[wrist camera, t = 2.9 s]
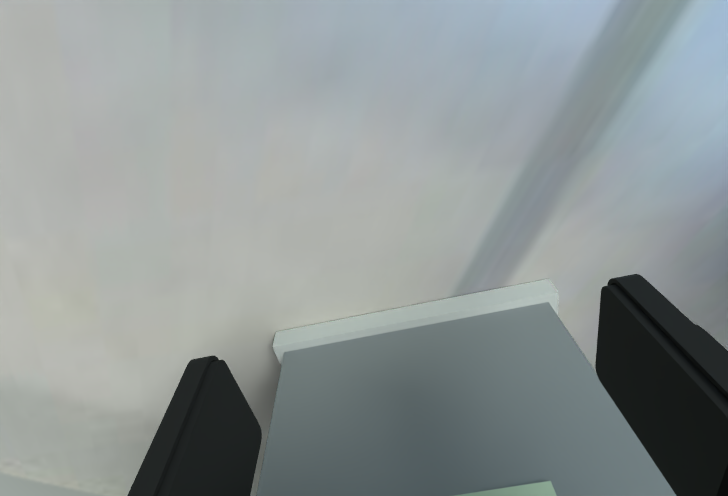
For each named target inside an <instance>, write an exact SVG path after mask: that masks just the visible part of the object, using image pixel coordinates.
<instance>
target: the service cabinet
mask: <svg viewBox="0 0 728 496" xmlns="http://www.w3.org/2000/svg"><path fill="white" fill-rule="evenodd" d="M273 349H274V352H275V354H276V356H277V358H278V361H279V363H280V365H281V372H280V377H279V382H278V387H277V393H276V398H275V403H274V408H273V413H272V418H271V423H270V429H269V434H268V439H267V444H266V449H265V454H264V460H263V465H262V470H261V475H260V480H259V485H258V490H257V496H676V494H675V493H674V491H673V490H672V488H671V487H670V485H669V484H668V482H667V481H666V479H665V478H664V476H663V475H662V473H661V472H660V470H659V469H658V467H657V466H656V464H655V463H654V461H653V460H652V458H651V457H650V455H649V454H648V452H647V451H646V449H645V448H644V446H643V445H642V443H641V442H640V440H639V439H638V437H637V436H636V434H635V433H634V431H633V430H632V428H631V427H630V425H629V424H628V422H627V421H626V419H625V418H624V416H623V415H622V413H621V412H620V410H619V409H618V407H617V406H616V405H615V403H614V402H613V400H612V399H611V397H610V396H609V394H608V393H607V391H606V390H605V388H604V387H603V385H602V384H601V382H600V380H599V378H598V376H597V373H596V372H595V370H594V369H593V367H592V366H591V364H590V363H589V361H588V360H587V359H586V357H585V356H584V354H583V353H582V351H581V350H580V348H579V347H578V345H577V344H576V342H575V341H574V339H573V338H572V336H571V335H570V333H569V332H568V330H567V329H566V327H565V326H564V324H563V323H562V321H561V320H560V318H559V317H558V291H557V289H556V288H555V287H554V285H553V284H552V283H551V281H550V280H549V279H544V280H539V281H534V282H529V283H524V284H519V285H514V286H509V287H503V288H498V289H493V290H488V291H483V292H478V293H473V294H468V295H462V296H457V297H452V298H447V299H442V300H437V301H432V302H427V303H421V304H416V305H411V306H406V307H401V308H396V309H391V310H386V311H381V312H375V313H370V314H365V315H360V316H355V317H350V318H345V319H340V320H334V321H329V322H324V323H319V324H314V325H309V326H304V327H299V328H293V329H288V330H283V331H278V332H276V334H275V338H274V342H273Z"/></svg>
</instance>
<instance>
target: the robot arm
mask: <svg viewBox="0 0 728 496" xmlns="http://www.w3.org/2000/svg"><path fill="white" fill-rule="evenodd" d="M596 373H597V376H598V378H599V380H600V382H601V384H602V385H603V387H604V388H605V390H606V391H607V393H608V394H609V396H610V397H611V399H612V400H613V402H614V403H615V405H616V406H617V407H618V409H619V410H620V412H621V413H622V415H623V416H624V418H625V419H626V421H627V422H628V424H629V425H630V427H631V428H632V430H633V431H634V433H635V434H636V436H637V437H638V439H639V440H640V442H641V443H642V445H643V446H644V448H645V449H646V451H647V452H648V454H649V455H650V457H651V458H652V460H653V461H654V463H655V464H656V466H657V467H658V469H659V470H660V472H661V473H662V475H663V476H664V478H665V479H666V481H667V482H668V484H669V485H670V487H671V488H672V490H673V491H674V493H675V494H676V496H728V351H727V350H726V349H725V348H724V347H723V346H722V345H721V344H720V343H718V342H717V341H716V340H715V339H714V338H713V337H712V336H711V335H710V334H708V333H707V332H706V331H705V330H704V329H702V328H701V327H700V326H698V325H695V324H693V323H692V322H691V321H690V320H689V319H688V318H687V317H686V316H685V315H684V314H682V313H681V312H680V311H679V310H678V309H677V308H676V307H675V306H674V305H673V304H672V303H671V302H669V301H668V300H667V299H666V298H665V297H664V296H663V295H662V294H661V293H660V292H659V291H657V290H656V289H655V288H654V287H653V286H652V285H651V284H650V283H649V282H648V281H647V280H645V279H644V278H643V277H642V276H641V275H638V274H633V275H628V276H623V277H618V278H613V279H610V280H609V282H608V286H604V287H603V288H602V290H601V301H600V314H599V327H598V340H597V353H596ZM261 438H262V434H261V428H260V425H259V423H258V421H257V419H256V418H255V416H254V414H253V412H252V410H251V408H250V407H249V405H248V403H247V401H246V399H245V397H244V395H243V394H242V392H241V390H240V388H239V386H238V384H237V383H236V381H235V379H234V377H233V375H232V373H231V372H230V370H229V368H228V366H227V364H226V363H225V361H223V360H219V359H218V358H217V357H216V356H208V357H203V358H198V359H193V360H191V361H190V362H189V363H188V365H187V367H186V369H185V371H184V374H183V376H182V378H181V380H180V382H179V385H178V387H177V389H176V391H175V393H174V395H173V398H172V400H171V402H170V404H169V406H168V409H167V411H166V413H165V415H164V417H163V419H162V422H161V424H160V426H159V428H158V430H157V433H156V435H155V437H154V439H153V441H152V443H151V446H150V448H149V450H148V452H147V454H146V457H145V459H144V461H143V463H142V465H141V467H140V470H139V472H138V474H137V476H136V478H135V481H134V483H133V485H132V487H131V489H130V491H129V494H128V496H250V492H251V488H252V483H253V478H254V473H255V468H256V464H257V459H258V454H259V449H260V444H261Z"/></svg>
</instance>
